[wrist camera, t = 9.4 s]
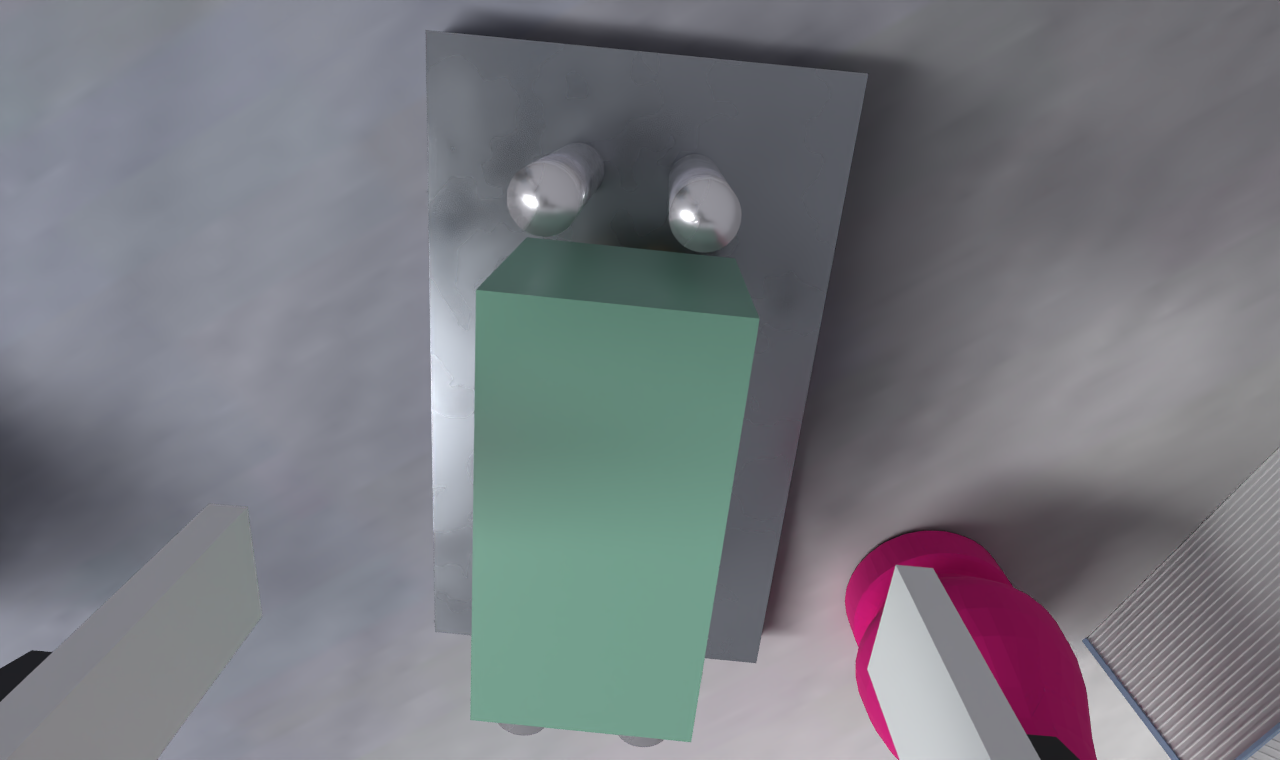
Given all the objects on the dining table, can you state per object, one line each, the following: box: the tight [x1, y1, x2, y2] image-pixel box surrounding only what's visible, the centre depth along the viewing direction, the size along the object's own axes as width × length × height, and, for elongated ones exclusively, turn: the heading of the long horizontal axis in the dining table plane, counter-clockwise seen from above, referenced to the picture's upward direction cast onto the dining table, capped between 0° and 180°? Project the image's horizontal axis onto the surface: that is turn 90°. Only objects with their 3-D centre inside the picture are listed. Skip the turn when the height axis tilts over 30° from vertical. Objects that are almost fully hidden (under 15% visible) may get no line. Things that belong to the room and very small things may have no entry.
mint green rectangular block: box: [470, 237, 760, 742], centre depth 20 cm, size 12×6×6 cm, turn 175°
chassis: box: [426, 30, 868, 747], centre depth 23 cm, size 22×13×8 cm, turn 175°
